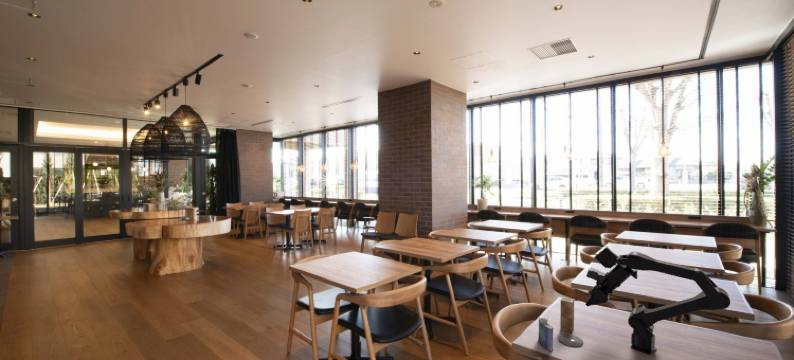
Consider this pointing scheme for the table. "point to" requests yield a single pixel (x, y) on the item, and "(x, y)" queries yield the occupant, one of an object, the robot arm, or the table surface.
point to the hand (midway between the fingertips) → (588, 301)
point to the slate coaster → (570, 340)
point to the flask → (545, 334)
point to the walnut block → (567, 315)
